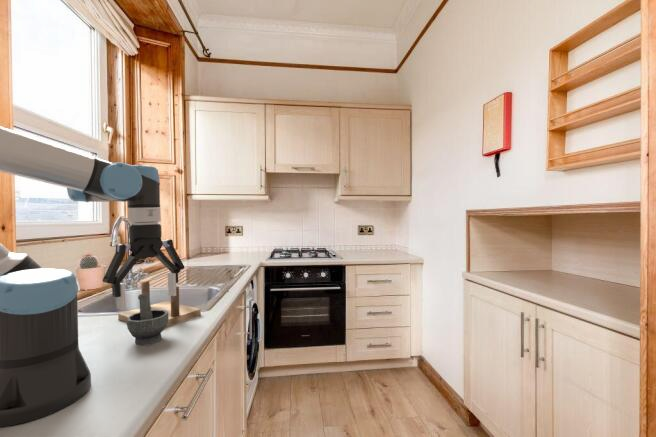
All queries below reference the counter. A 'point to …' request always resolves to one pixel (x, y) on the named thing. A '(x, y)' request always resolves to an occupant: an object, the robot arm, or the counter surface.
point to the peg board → (166, 308)
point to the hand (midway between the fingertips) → (148, 301)
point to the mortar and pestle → (147, 322)
